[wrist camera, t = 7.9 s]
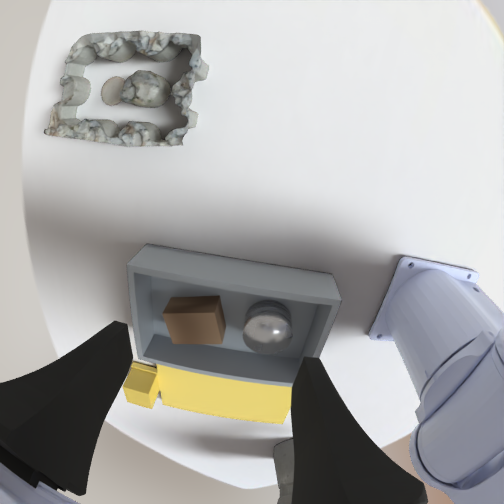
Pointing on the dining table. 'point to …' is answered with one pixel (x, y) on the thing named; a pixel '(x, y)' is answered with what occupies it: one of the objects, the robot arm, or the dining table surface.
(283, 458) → the coffeepot
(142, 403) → the lid
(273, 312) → the grey rounded puck
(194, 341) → the walnut block
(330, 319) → the tub
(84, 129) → the egg carton
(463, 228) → the dining table surface
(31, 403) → the robot arm
